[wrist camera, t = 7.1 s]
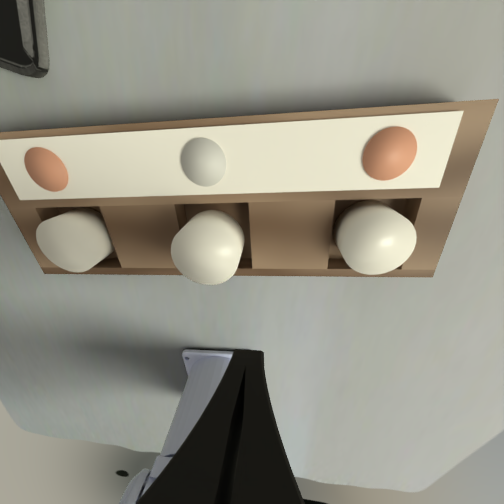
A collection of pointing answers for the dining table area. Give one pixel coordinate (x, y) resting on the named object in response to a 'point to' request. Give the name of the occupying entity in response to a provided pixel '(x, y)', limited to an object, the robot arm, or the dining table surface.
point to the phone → (24, 37)
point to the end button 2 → (374, 237)
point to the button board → (264, 206)
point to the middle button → (208, 247)
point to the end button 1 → (75, 239)
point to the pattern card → (236, 158)
